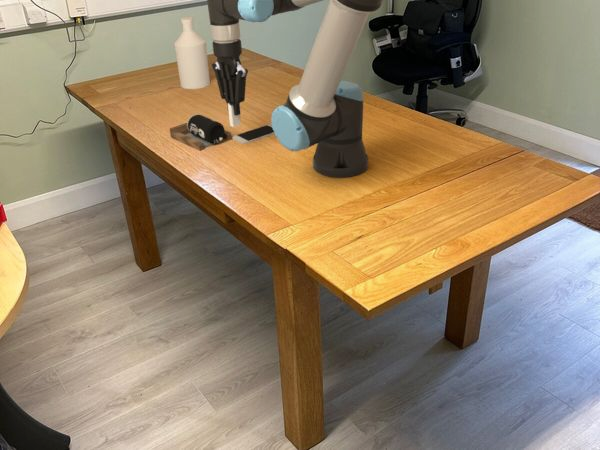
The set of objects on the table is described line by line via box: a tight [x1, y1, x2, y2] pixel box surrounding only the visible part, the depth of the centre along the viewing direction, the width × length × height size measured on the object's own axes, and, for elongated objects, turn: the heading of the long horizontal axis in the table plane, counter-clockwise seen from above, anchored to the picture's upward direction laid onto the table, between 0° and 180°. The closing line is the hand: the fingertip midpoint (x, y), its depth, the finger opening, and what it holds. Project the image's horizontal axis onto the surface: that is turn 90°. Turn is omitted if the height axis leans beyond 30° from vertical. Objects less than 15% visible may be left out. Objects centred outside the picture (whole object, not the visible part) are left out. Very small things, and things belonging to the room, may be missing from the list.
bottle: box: [173, 16, 211, 90], centre depth 223 cm, size 12×12×25 cm
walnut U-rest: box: [169, 122, 233, 151], centre depth 181 cm, size 16×12×3 cm
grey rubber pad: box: [186, 133, 226, 149], centre depth 181 cm, size 12×8×1 cm
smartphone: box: [231, 123, 275, 145], centre depth 183 cm, size 7×16×1 cm, turn 130°
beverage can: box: [186, 114, 226, 145], centre depth 179 cm, size 7×7×12 cm
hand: (235, 124), depth 166 cm, fingers closed
